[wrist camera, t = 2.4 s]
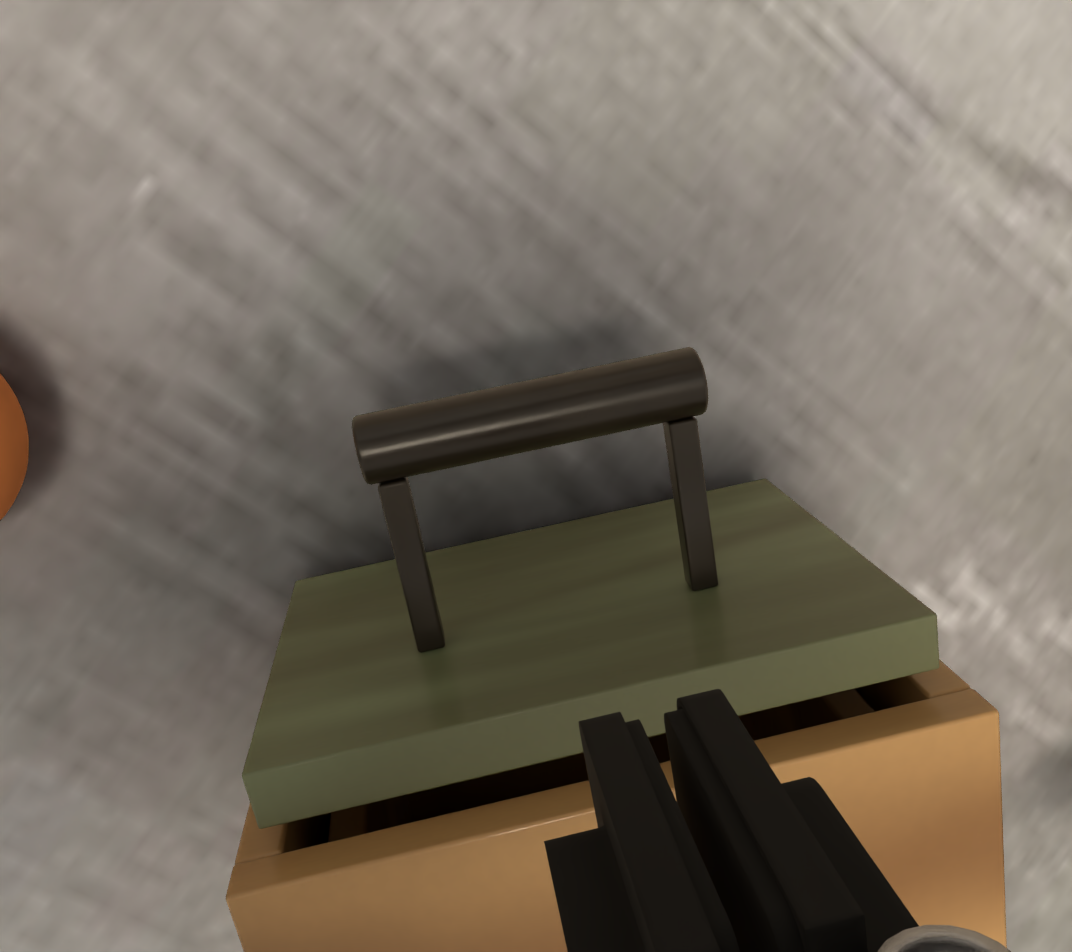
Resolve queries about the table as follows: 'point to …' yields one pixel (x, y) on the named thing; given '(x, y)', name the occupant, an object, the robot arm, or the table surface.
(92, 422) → the table surface
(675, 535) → the drawer
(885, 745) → the cabinet
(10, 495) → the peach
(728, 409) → the table surface
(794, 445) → the table surface
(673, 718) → the robot arm
